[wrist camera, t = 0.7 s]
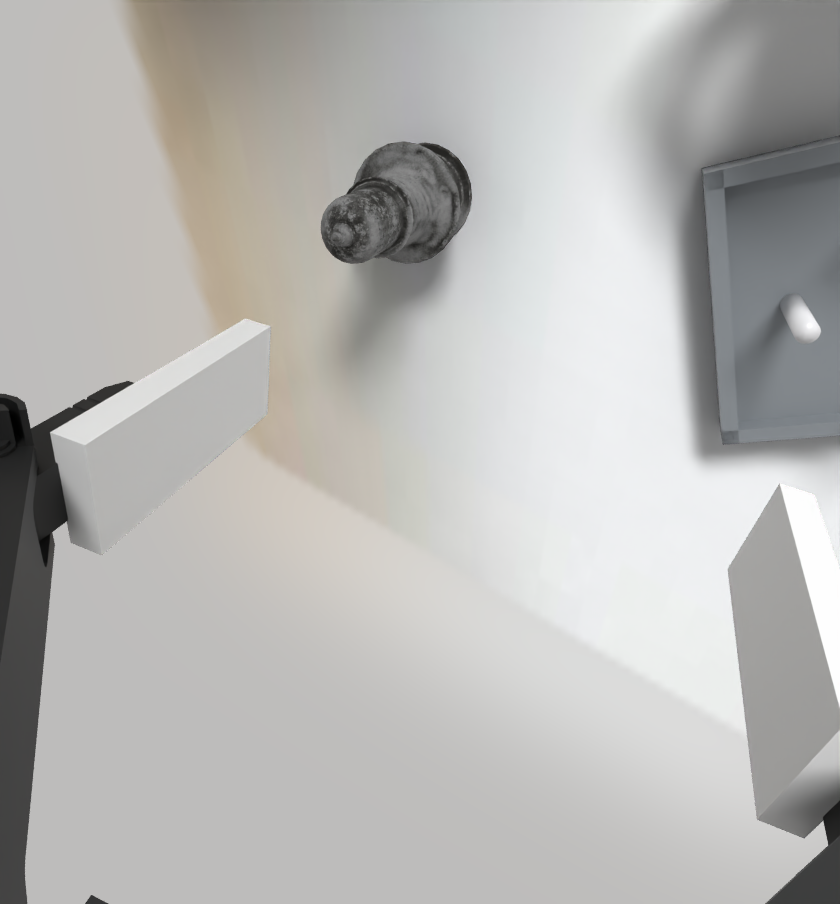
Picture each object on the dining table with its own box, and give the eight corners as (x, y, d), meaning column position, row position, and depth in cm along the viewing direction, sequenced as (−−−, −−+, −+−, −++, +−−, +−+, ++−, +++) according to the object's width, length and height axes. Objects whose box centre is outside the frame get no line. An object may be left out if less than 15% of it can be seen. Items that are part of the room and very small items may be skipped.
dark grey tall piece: (498, 197, 34) (431, 244, 25) (426, 270, 38) (341, 337, 28) (425, 110, 33) (324, 123, 24) (357, 192, 37) (244, 233, 27)
